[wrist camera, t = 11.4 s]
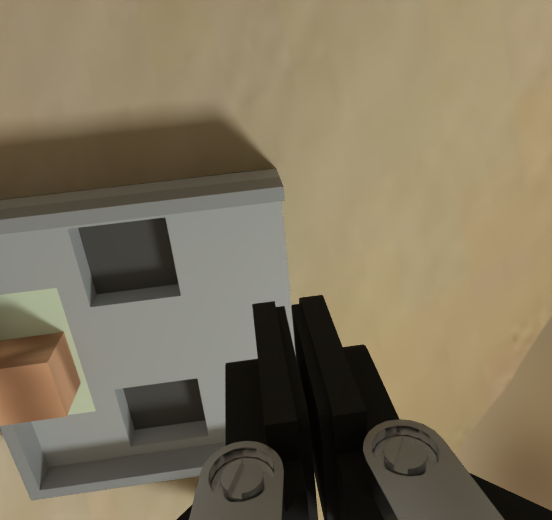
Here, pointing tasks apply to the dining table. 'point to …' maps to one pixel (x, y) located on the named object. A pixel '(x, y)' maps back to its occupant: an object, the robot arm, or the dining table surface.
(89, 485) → the box
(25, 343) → the block
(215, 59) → the dining table surface
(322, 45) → the dining table surface
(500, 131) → the dining table surface
